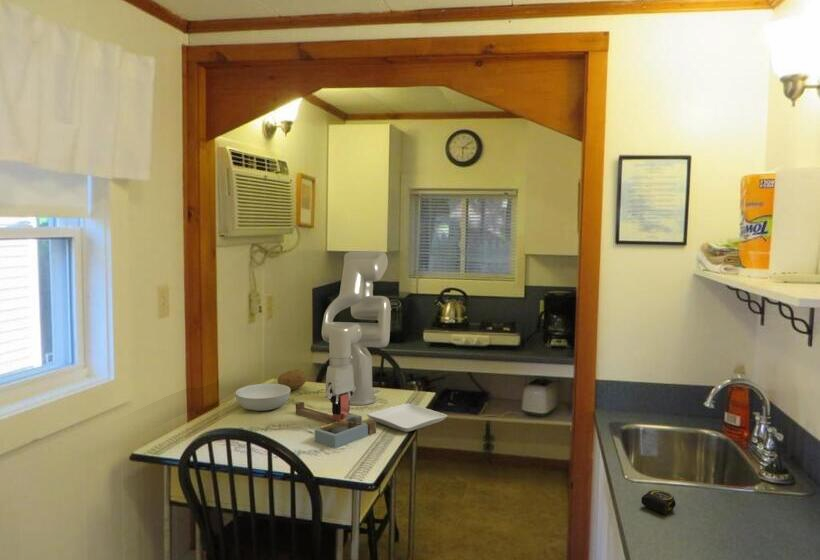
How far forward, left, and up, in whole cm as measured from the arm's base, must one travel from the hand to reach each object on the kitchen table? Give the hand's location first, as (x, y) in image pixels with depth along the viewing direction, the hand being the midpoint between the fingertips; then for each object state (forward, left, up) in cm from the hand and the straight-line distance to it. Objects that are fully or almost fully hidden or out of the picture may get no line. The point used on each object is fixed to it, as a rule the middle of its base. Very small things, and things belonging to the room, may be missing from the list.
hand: (340, 411), depth 224 cm
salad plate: (-17, +16, -5) cm, 24 cm away
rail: (0, -4, -5) cm, 6 cm away
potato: (-20, -51, -5) cm, 55 cm away
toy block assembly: (+6, +4, -4) cm, 9 cm away
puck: (+10, +10, -5) cm, 15 cm away
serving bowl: (+4, -39, -5) cm, 39 cm away
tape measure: (-4, +109, -5) cm, 109 cm away
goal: (+10, +11, -5) cm, 15 cm away
